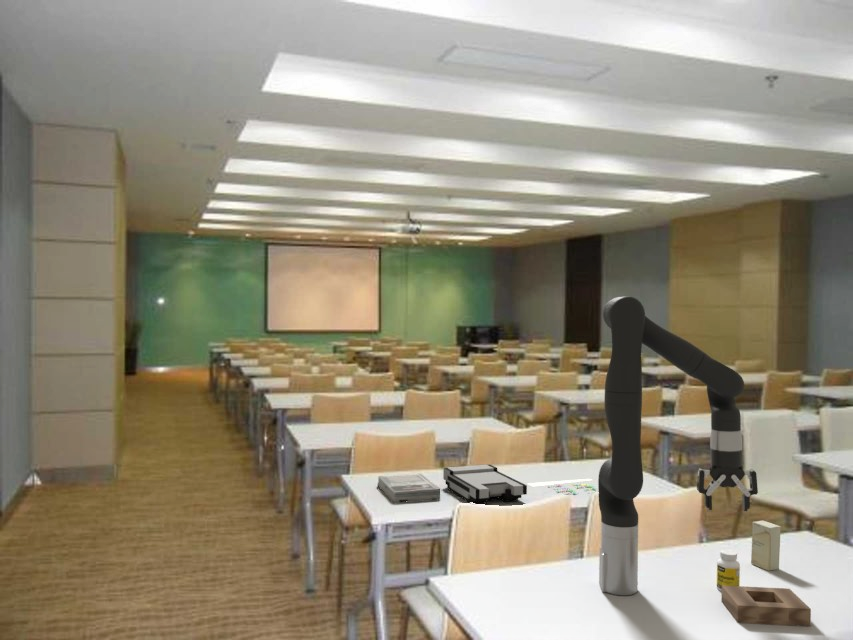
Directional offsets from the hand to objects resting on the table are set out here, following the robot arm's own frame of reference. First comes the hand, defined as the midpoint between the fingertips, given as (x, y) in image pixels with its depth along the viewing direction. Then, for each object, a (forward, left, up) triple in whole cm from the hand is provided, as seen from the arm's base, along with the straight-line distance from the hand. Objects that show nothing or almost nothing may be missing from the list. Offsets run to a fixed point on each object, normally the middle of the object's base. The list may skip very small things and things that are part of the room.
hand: (727, 509), depth 183 cm
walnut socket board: (+5, -14, -21) cm, 25 cm away
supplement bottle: (+1, 0, -21) cm, 21 cm away
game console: (-64, +87, -21) cm, 111 cm away
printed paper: (-27, +101, -22) cm, 107 cm away
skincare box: (+17, +19, -21) cm, 33 cm away
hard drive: (-94, +87, -21) cm, 130 cm away
